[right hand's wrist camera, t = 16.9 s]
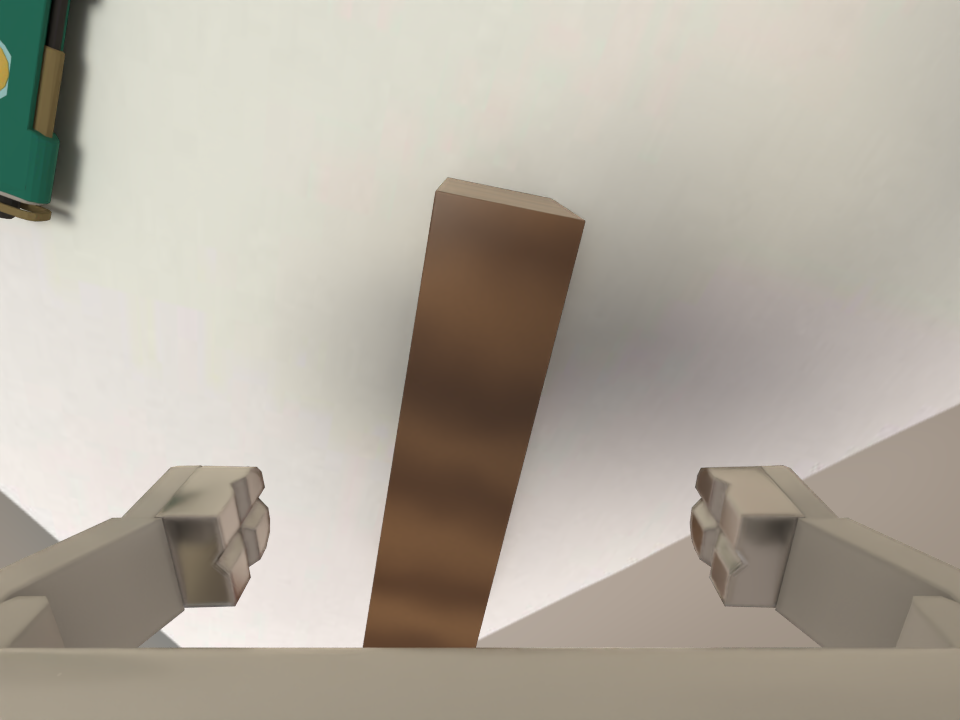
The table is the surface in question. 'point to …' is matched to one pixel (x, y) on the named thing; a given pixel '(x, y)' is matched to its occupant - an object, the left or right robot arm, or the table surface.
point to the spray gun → (29, 103)
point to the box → (467, 407)
